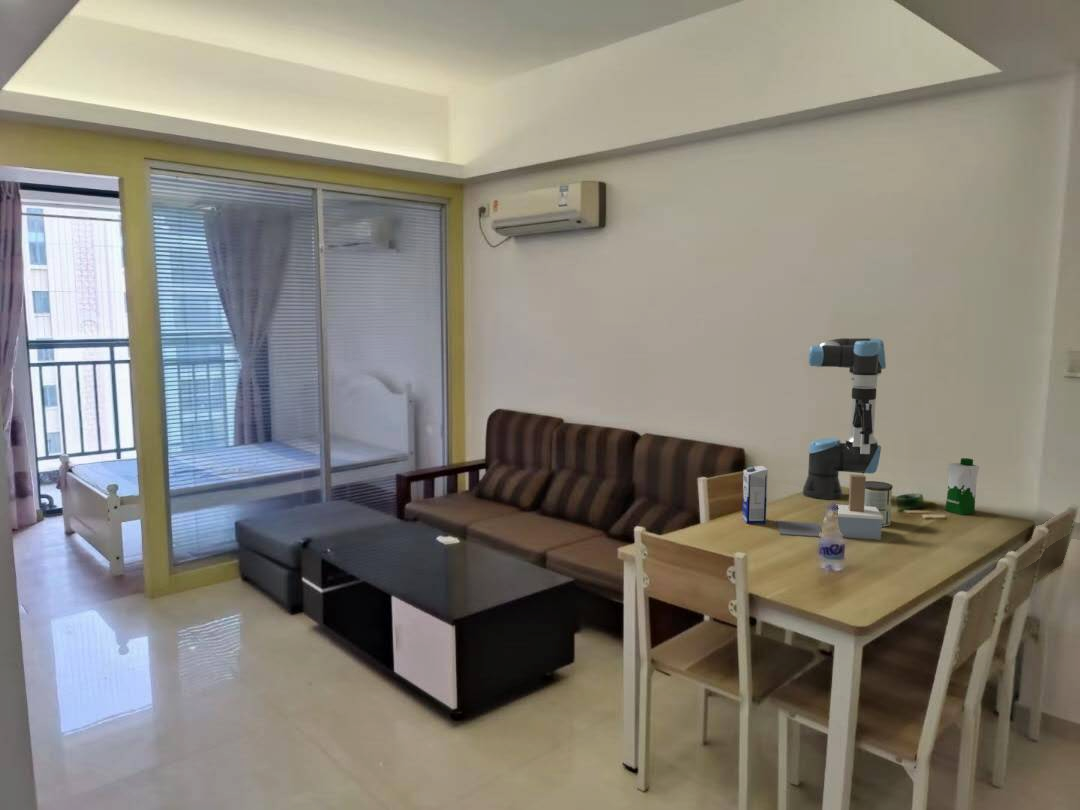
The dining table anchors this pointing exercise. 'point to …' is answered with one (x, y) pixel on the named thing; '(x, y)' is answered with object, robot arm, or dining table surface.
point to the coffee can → (879, 498)
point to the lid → (858, 501)
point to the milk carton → (754, 495)
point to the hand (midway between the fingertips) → (860, 450)
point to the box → (860, 527)
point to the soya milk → (961, 487)
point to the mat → (798, 528)
